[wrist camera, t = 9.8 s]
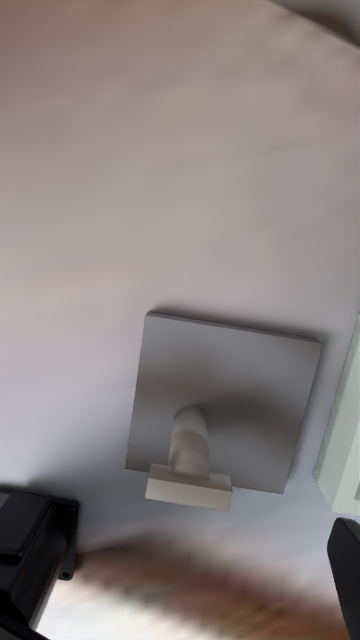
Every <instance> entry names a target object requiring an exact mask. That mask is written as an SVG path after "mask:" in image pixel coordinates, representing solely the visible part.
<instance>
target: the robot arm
mask: <svg viewBox="0 0 360 640" xmlns="http://www.w3.org/2000/svg"><path fill="white" fill-rule="evenodd" d="M71 508H74V509H75V510H73V509H71ZM80 514H81V505H80V503H79V502H77V501H75V500H69V499H63V498H57V497H51V496H45V495H39V494H33V493H27V492H21V491H14V490H8V489H2V488H0V640H50V639H48V638H46V637H45V636H43V635H41V634H40V633H38V632H36V629H37V627H38V624H39V622H40V620H41V617H42V615H43V612H44V610H45V607H46V605H47V603H48V600H49V598H50V595H51V593H52V590H53V588H54V585H55V583H56V581H57V579H59V580H65V581H68V580H71V579H72V577H73V575H74V572H75V565H76V555H77V544H78V534H79V524H80ZM327 552H328V557H329V561H330V565H331V569H332V573H333V578H334V582H335V586H336V590H337V594H338V598H339V602H340V606H341V610H342V614H343V618H344V622H345V625H346V629H347V632H348V635H349V638H350V640H360V525H359V524H358V523H357V522H356V521H354V520H352V519H346V518H337V519H336V520H335V522H334V525H333V528H332V531H331V534H330V537H329V540H328V544H327Z"/></svg>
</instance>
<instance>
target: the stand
mask: <svg viewBox="0 0 360 640" xmlns="http://www.w3.org/2000/svg"><path fill="white" fill-rule="evenodd" d="M322 345H323V343H321V342H320V341H319V340H318V339H316V338H310V337H304V336H297V335H291V334H285V333H278V332H272V331H266V330H260V329H253V328H247V327H241V326H234V325H228V324H222V323H216V322H209V321H203V320H197V319H190V318H184V317H178V316H172V315H165V314H159V313H153V312H147V314H146V315H145V323H144V330H143V338H142V346H141V353H140V361H139V369H138V376H137V384H136V391H135V399H134V407H133V414H132V422H131V430H130V437H129V445H128V452H127V460H126V468H125V469H131V470H137V471H143V472H149V476H148V481H147V488H146V495H145V498H148V499H154V500H160V501H166V502H172V503H178V504H181V505H185V506H196V507H203V508H209V509H215V510H221V511H227V512H228V509H229V505H230V501H231V496H232V486H235V487H241V488H247V489H253V490H259V491H265V492H271V493H278V494H283V492H284V488H285V484H286V481H287V477H288V473H289V469H290V465H291V462H292V458H293V454H294V450H295V447H296V443H297V439H298V435H299V432H300V428H301V424H302V420H303V417H304V413H305V409H306V405H307V402H308V398H309V394H310V390H311V387H312V383H313V379H314V375H315V372H316V368H317V364H318V360H319V356H320V353H321V349H322Z"/></svg>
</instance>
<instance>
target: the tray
mask: <svg viewBox="0 0 360 640" xmlns="http://www.w3.org/2000/svg"><path fill="white" fill-rule="evenodd" d="M313 476H314V478H315V480H316V482H317V484H318V486H319V488H320V490H321V492H322V494H323V496H324V498H325V500H326V502H327V504H328V506H329V508H330V510H331V512H337V513H343V514H349V515H355V516H360V312H359V316H358V319H357V323H356V326H355V330H354V333H353V337H352V340H351V344H350V347H349V351H348V354H347V358H346V361H345V365H344V368H343V372H342V375H341V379H340V382H339V386H338V389H337V393H336V396H335V400H334V403H333V407H332V410H331V414H330V417H329V421H328V424H327V428H326V431H325V435H324V438H323V441H322V445H321V448H320V452H319V455H318V459H317V462H316V466H315V469H314V473H313Z"/></svg>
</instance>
